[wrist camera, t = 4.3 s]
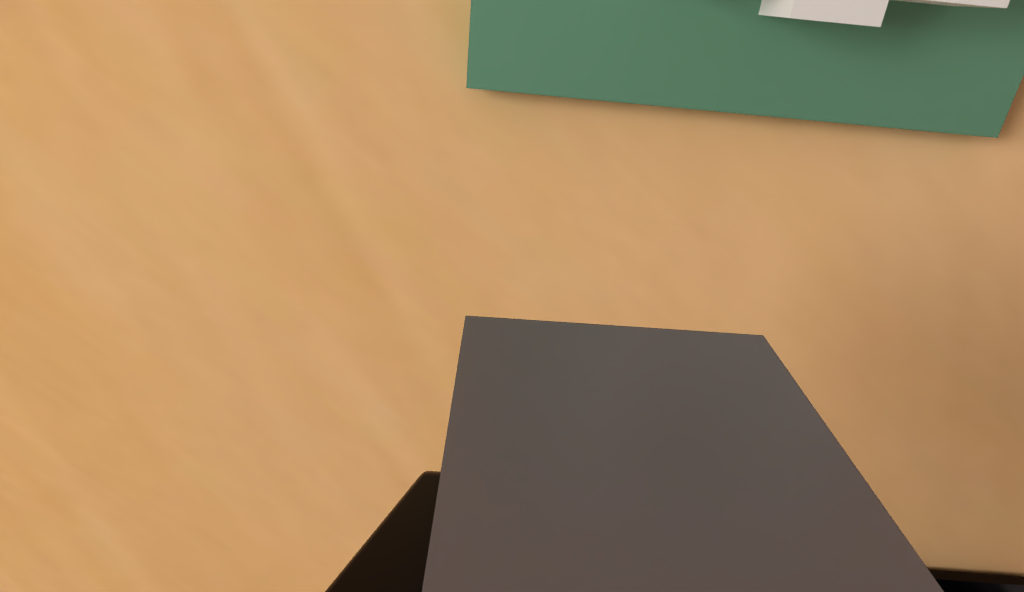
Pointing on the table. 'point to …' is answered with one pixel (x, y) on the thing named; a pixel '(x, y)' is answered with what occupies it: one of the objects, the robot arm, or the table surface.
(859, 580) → the plug
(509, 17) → the board
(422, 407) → the table surface
